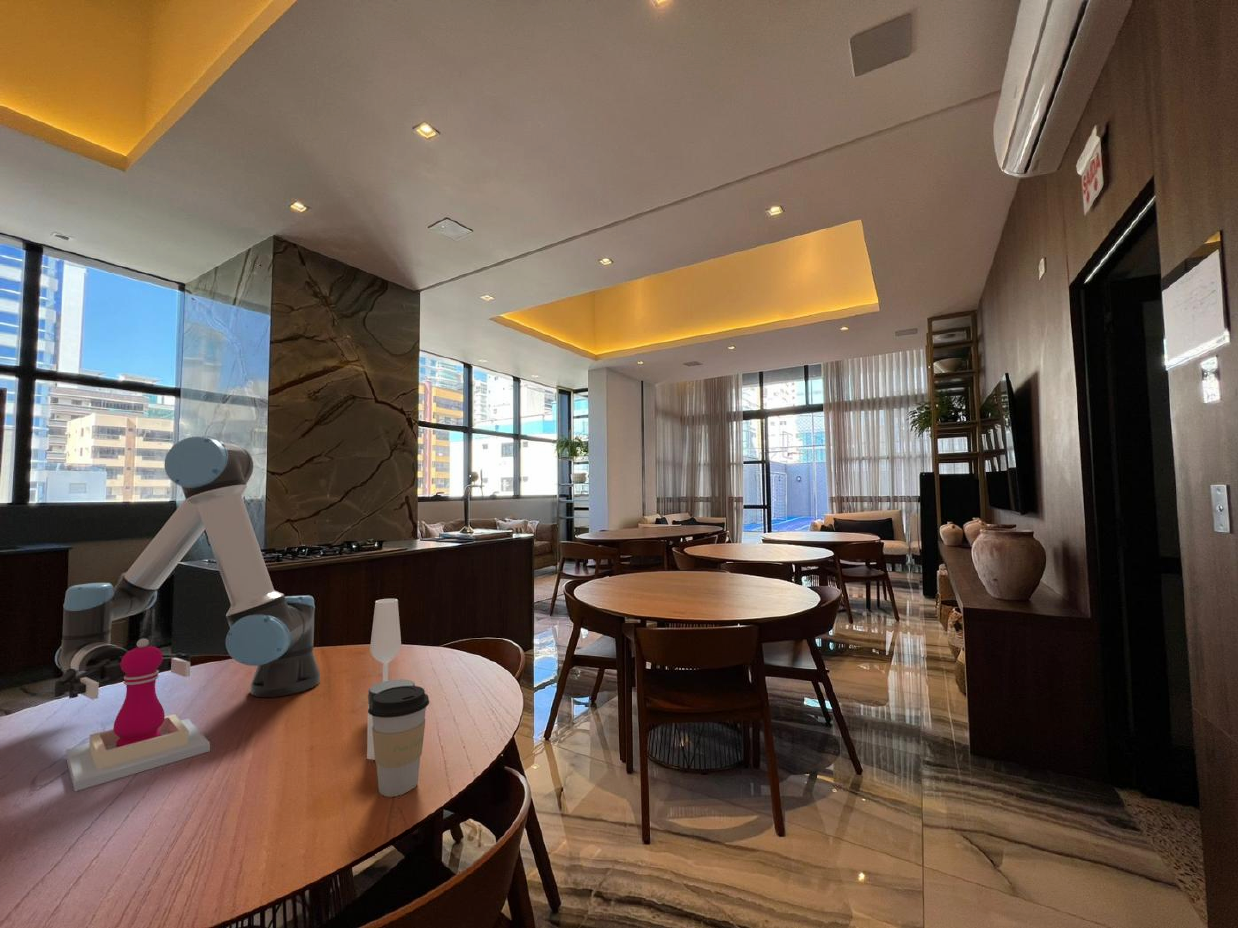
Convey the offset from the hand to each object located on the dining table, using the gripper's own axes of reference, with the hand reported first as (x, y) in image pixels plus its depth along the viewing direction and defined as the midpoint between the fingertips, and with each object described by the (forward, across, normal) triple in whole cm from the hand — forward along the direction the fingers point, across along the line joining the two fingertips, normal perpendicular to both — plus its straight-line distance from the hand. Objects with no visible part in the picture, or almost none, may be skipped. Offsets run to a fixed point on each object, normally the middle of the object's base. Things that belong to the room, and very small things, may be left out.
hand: (144, 679), depth 100 cm
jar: (+40, -24, -14) cm, 49 cm away
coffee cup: (+52, -16, -14) cm, 56 cm away
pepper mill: (-2, 0, -13) cm, 13 cm away
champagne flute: (+19, -38, -14) cm, 45 cm away
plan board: (-1, 0, -14) cm, 14 cm away
